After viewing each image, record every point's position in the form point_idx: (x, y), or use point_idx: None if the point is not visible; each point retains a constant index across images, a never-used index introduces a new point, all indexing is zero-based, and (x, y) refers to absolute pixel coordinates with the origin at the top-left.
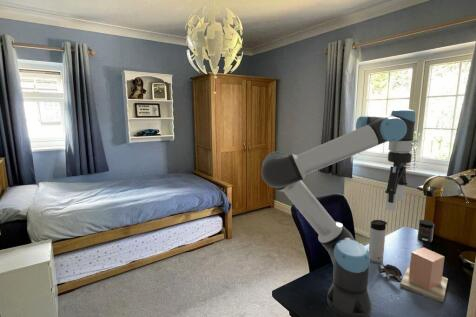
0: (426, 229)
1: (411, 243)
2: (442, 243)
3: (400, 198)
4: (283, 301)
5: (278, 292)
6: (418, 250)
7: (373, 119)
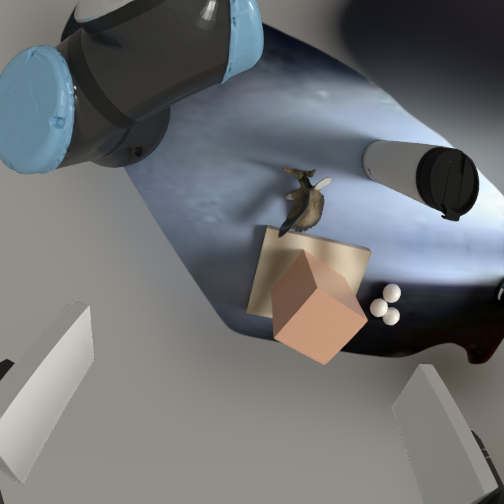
0: None
1: (489, 261)
2: (493, 322)
3: (407, 411)
4: (75, 6)
5: None
6: (338, 307)
7: None
